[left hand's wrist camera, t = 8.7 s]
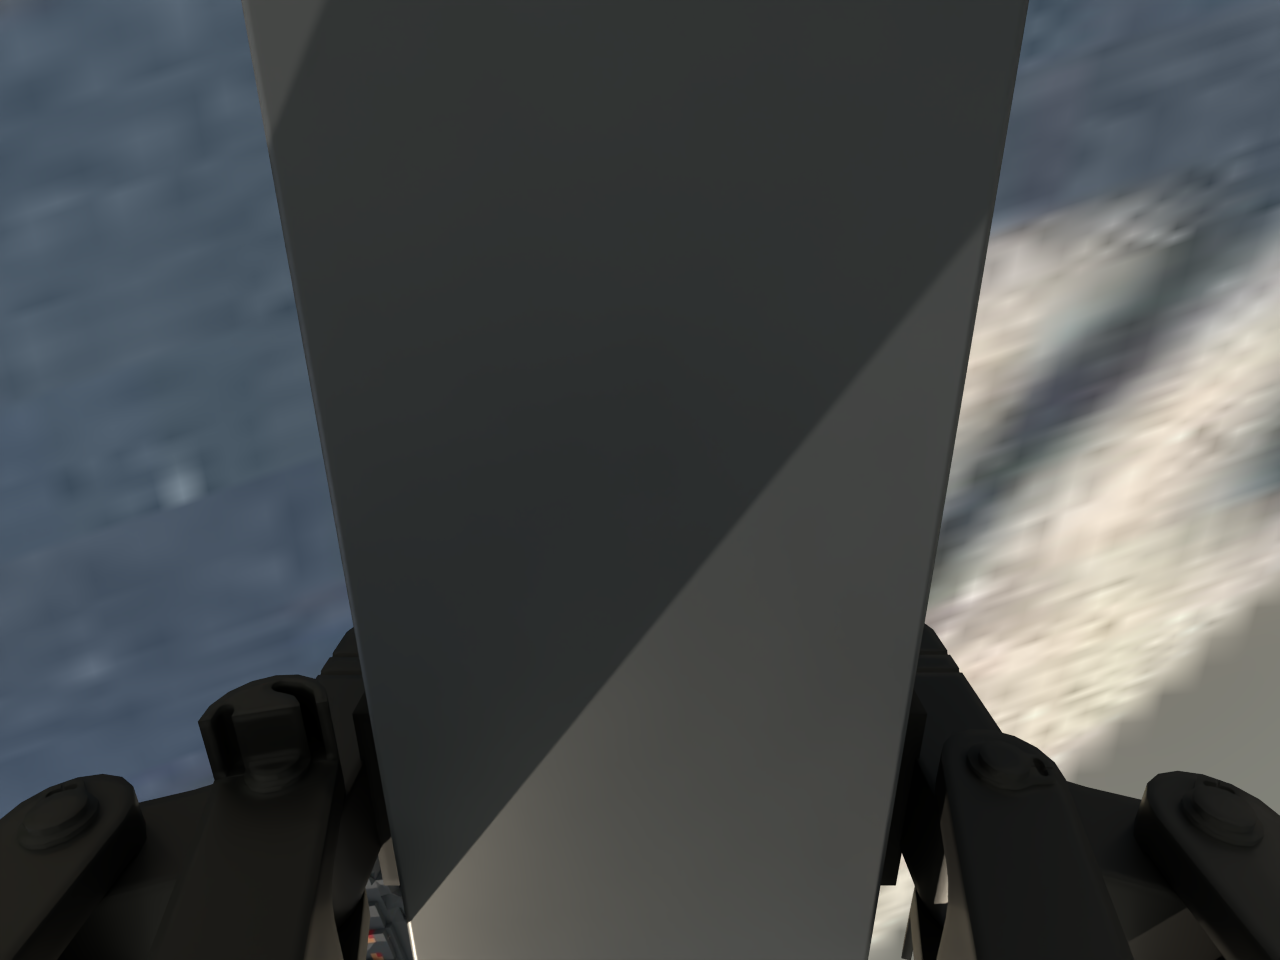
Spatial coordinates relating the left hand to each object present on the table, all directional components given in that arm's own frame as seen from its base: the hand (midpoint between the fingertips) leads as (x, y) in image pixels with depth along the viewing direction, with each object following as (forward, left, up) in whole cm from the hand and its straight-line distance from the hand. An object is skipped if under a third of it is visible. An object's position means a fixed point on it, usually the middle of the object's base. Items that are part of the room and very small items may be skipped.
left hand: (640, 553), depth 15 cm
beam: (+7, +21, -1) cm, 22 cm away
